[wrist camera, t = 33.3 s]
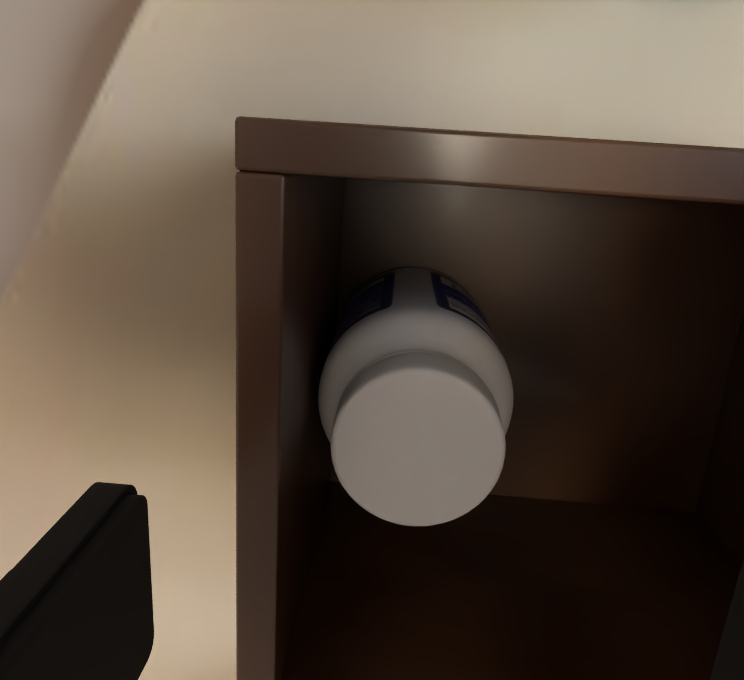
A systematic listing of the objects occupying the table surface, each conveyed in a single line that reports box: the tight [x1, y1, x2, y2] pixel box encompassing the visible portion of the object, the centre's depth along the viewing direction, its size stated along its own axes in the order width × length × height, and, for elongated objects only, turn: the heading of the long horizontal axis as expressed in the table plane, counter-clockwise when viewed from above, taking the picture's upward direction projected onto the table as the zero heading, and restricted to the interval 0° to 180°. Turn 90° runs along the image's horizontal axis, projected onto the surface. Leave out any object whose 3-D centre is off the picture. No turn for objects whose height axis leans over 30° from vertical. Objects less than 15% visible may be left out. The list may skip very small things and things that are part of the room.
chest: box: [235, 116, 744, 680], centre depth 18 cm, size 16×14×11 cm
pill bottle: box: [318, 267, 513, 526], centre depth 18 cm, size 5×5×9 cm
